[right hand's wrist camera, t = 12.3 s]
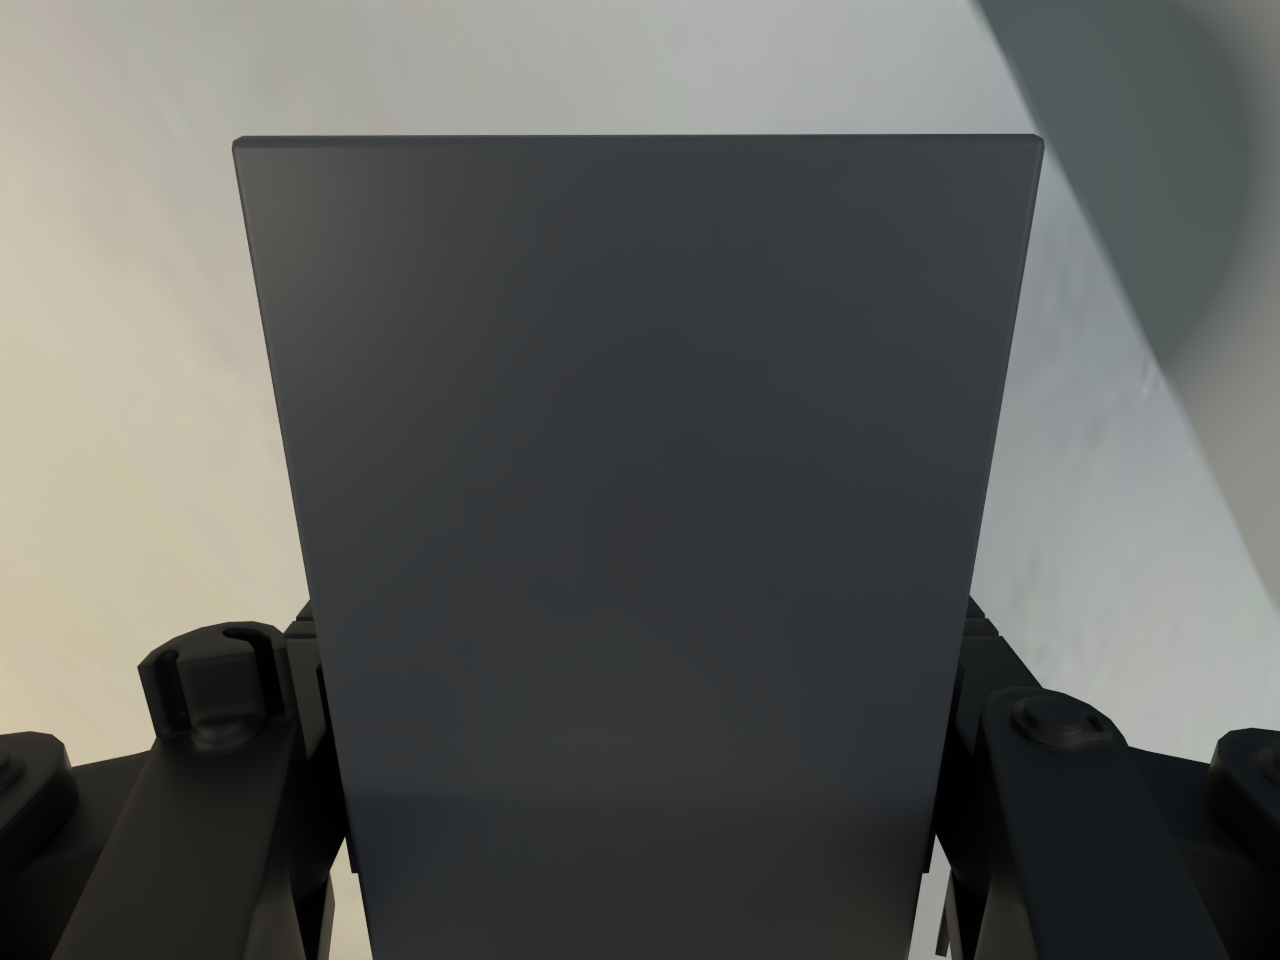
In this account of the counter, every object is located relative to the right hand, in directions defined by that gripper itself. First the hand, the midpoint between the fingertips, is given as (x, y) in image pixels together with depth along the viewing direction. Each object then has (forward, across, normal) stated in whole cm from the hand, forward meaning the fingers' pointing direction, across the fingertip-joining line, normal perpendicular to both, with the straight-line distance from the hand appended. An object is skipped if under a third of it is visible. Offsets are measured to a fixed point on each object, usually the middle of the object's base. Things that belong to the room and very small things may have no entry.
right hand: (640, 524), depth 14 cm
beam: (+1, 0, -36) cm, 36 cm away
